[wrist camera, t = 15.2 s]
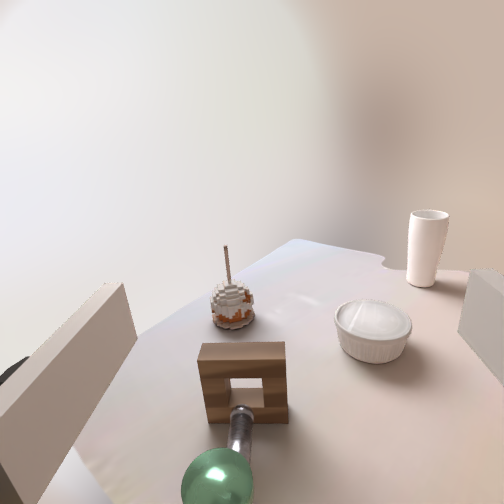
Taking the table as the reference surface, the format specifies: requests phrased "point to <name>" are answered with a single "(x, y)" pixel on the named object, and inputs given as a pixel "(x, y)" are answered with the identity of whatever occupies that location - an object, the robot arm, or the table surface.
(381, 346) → the ramekin
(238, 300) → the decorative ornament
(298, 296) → the table surface
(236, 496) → the green tall capped cylinder
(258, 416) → the brown striped block
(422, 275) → the drinking glass
